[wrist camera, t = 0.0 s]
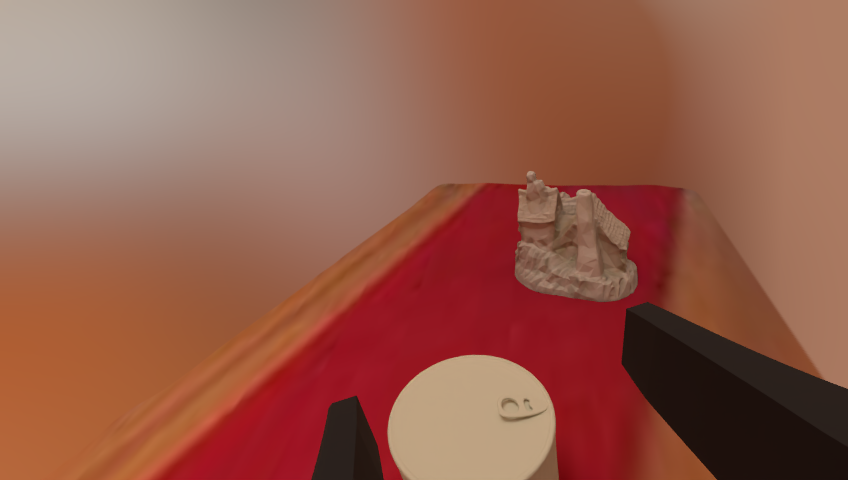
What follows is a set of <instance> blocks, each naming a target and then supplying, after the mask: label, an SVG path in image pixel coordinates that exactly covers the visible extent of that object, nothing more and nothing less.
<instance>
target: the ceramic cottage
mask: <svg viewBox="0 0 848 480" xmlns="http://www.w3.org/2000/svg"><path fill="white" fill-rule="evenodd" d="M526 177H527V190H522V189H519V190H518V192H519V209H518V223H519V229H518V230H519V231H520V233H521V235H522V241H519V242H518V243H517V247H518V249H517V250H516V251H515V254H516V256H515V260H516V266H515V276H516V278H517V280H518V281H520V282H521V283H522V284H523V285H524V286H526V287H528V288H529V289H531V290H534V291H536V292H540V293H547V294H552V295H559V296H566V297H570V298H579V299H584V300H591V301H597V302H608V301H616V300H620V299H622V298H624V297H627V296H629V295H630V294H631V293H633V292H634V290H635V288H636V287H637V281H638V275H637V267H636V265H635V263H633V262H632V261H630V260H628V259H627V255H626V254H627V250H628V239H629V236H630V230H629V229H628V227H627V226H625V224H624V223H622V222H621V221H619V220H618V219H617V218H616V217H615V216H614V215H613V214H612V213H611V212H610V211H608V210H607V209H606V208H605V205H603V204H602V203H601V201H600V199H598V198H597V197H596V195H595V194H594V193H592V192H591V191H590V190H586V189H581V190H579V191H578V192H577V193H576V195H577V196H576V197H573V198H570V197H569V195H568V194H566V193H565V192H561V193H559V191H558V190H557V188H551V189H550V187H548V186H547V187H545V185H544V183H543V181H542V180H537V179H536V174H535V172H532V171H529V172H528V173H527V176H526Z"/></svg>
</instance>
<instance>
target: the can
mask: <svg viewBox="0 0 848 480" xmlns="http://www.w3.org/2000/svg"><path fill="white" fill-rule="evenodd" d="M555 431H556V419H555V412H554V408H553V404H552V402H551V399H550V397H549V395H548V393H547V391H546V390H545V388H544V387H543V385H542V384H541V383H540V382H539V381H538V380H537V378H536V377H535V376H534V375H532V374H531V373H530V372H529V371H527V370H526V369H524V368H523V367H521V366H519V365H517V364H515V363H513V362H511V361H508V360H505V359H502V358H498V357H493V356H485V355H468V356H460V357H455V358H451V359H448V360H445V361H442V362H439V363H437V364H435V365H433V366H431V367H429V368H427V369H426V370H424V371H423V372H421V373H420V374H418V375H417V376H416V377H415V378H414V379H412V380H411V381H410V382H409V383H408V384H407V386H406V387H405V388H404V389H403V390H402V392H401V393H400V395H399V396H398V398H397V400H396V401H395V403H394V406H393V408H392V411H391V414H390V418H389V423H388V442H389V447H390V451H391V454H392V457H393V459H394V461H395V463H396V465H397V466H398V468H399V470H400V473H401V475H402V478H403V480H559V476H558V465H557V453H556V439H555Z"/></svg>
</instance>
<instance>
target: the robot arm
mask: <svg viewBox="0 0 848 480" xmlns="http://www.w3.org/2000/svg"><path fill="white" fill-rule="evenodd" d="M622 365H623V366H624V368H625V369H626V371H627V372H628V374H629V375H630V377H631V378H632V380H633V381H634V383H635V384H636V386H637V387H638V388H639V390H640V391H641V392H642V394H643V395H644V397H645V398H646V399H647V400H648V402H649V403H650V404H651V405H652V406H653V408H654V409H655V410H656V411H657V412H658V413H659V414H660V416H661V417H662V418H663V419H664V420H665V421H666V422H667V424H668V425H669V426H670V427H671V428H672V429H673V430H674V431H675V433H676V434H677V435H678V436H679V437H680V438H681V439H682V441H683V442H684V443H685V444H686V445H687V446H688V447H689V448H690V450H691V451H692V452H693V453H694V454H695V455H696V456H697V457H698V459H699V460H700V461H701V462H702V463H703V464H704V465H705V466H706V468H707V469H708V470H709V471H710V472H711V473H712V474H713V475H714V477H715V478H716V479H717V480H848V389H846V388H844V387H841V386H838V385H836V384H833V383H830V382H828V381H825V380H822V379H820V378H817V377H815V376H812V375H810V374H807V373H805V372H803V371H800V370H798V369H795V368H793V367H790V366H788V365H785V364H783V363H781V362H778V361H776V360H773V359H771V358H769V357H767V356H764V355H762V354H760V353H757V352H755V351H753V350H751V349H748V348H746V347H744V346H742V345H739V344H737V343H735V342H733V341H731V340H728V339H726V338H724V337H722V336H720V335H718V334H715V333H713V332H711V331H709V330H707V329H705V328H703V327H700V326H698V325H696V324H694V323H692V322H690V321H688V320H686V319H684V318H681V317H679V316H677V315H675V314H673V313H671V312H669V311H666V310H664V309H662V308H660V307H658V306H655V305H653V304H651V303H649V302H646V303H643V304H640V305H637V306H634V307H631V308H628V309H626V320H625V331H624V342H623V353H622ZM311 480H384V479H383V473H382V467H381V462H380V456H379V451H378V445H377V443H376V441H375V438H374V436H373V433H372V431H371V429H370V426H369V424H368V422H367V419H366V417H365V414H364V412H363V410H362V407H361V405H360V403H359V400H358V398H357V396H354V397H351V398H348V399H344V400H341V401H338V402H335V403H332V404H331V406H330V407H329V409H328V415H327V420H326V425H325V429H324V434H323V438H322V442H321V446H320V450H319V454H318V458H317V462H316V465H315V469H314V472H313V476H312V479H311Z"/></svg>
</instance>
